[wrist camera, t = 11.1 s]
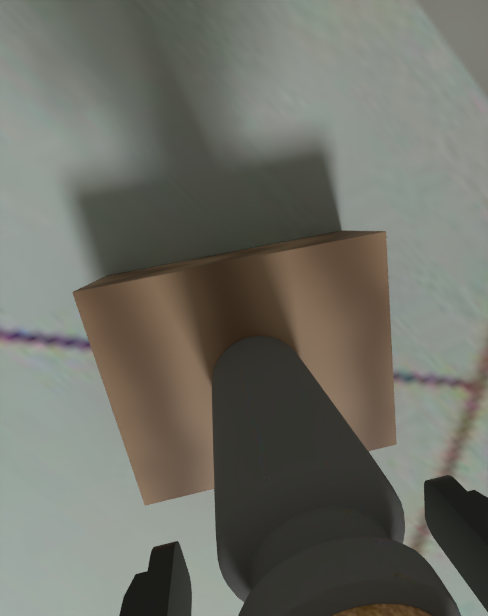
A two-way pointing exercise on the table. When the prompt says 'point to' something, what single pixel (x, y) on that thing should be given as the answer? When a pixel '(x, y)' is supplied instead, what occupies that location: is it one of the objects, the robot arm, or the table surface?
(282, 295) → the wooden box
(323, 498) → the bottle
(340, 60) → the table surface
